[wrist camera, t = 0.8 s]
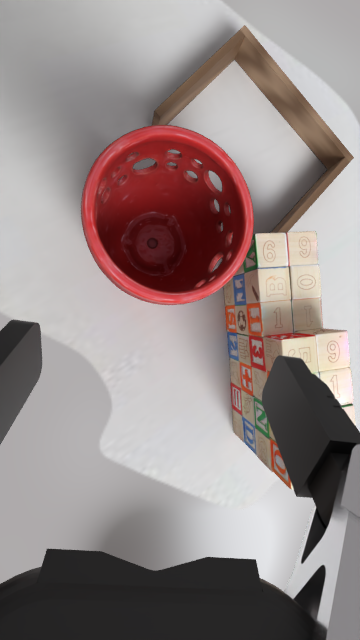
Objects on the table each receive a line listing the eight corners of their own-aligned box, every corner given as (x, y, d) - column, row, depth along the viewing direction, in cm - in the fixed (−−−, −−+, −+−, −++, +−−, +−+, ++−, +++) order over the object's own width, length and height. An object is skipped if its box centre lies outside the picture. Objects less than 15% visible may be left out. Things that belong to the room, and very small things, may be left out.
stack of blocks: (219, 253, 35) (272, 220, 23) (268, 251, 36) (343, 219, 24) (233, 433, 36) (292, 493, 24) (281, 425, 37) (360, 478, 25)
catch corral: (151, 129, 33) (154, 110, 30) (234, 49, 35) (244, 25, 32) (264, 249, 36) (277, 243, 33) (335, 169, 38) (353, 157, 35)
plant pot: (72, 275, 32) (45, 250, 20) (126, 168, 33) (130, 84, 21) (181, 327, 34) (214, 333, 22) (228, 226, 35) (283, 180, 23)
